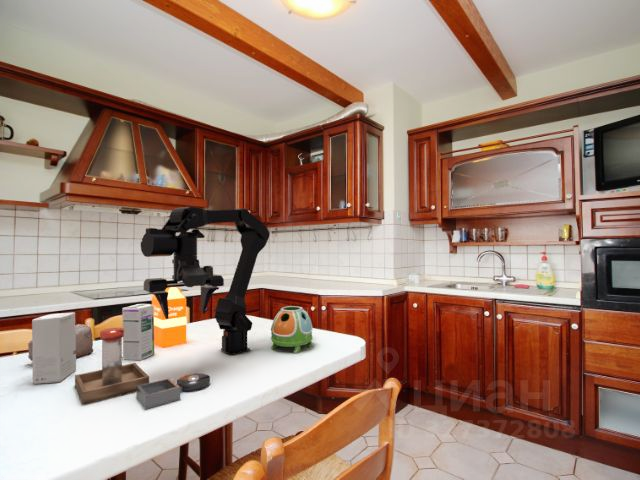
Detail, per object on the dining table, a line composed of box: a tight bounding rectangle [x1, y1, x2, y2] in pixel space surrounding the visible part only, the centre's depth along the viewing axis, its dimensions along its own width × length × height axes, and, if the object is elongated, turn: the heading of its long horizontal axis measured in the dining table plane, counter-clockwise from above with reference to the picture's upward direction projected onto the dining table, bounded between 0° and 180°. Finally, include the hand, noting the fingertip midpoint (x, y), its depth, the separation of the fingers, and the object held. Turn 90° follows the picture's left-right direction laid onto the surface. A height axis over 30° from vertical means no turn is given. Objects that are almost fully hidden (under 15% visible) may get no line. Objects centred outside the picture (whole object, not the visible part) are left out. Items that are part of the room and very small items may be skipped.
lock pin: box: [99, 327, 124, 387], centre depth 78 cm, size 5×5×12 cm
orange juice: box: [151, 287, 187, 349], centre depth 113 cm, size 8×9×20 cm
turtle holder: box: [270, 305, 314, 354], centre depth 110 cm, size 12×18×12 cm
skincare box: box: [31, 312, 77, 385], centre depth 84 cm, size 8×6×15 cm
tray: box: [74, 362, 150, 406], centre depth 78 cm, size 12×12×2 cm
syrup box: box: [121, 303, 155, 361], centre depth 99 cm, size 6×6×14 cm
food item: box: [27, 323, 94, 362], centre depth 98 cm, size 14×8×10 cm, turn 159°
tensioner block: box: [135, 372, 211, 410], centre depth 75 cm, size 15×9×2 cm, turn 131°
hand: (185, 316), depth 91 cm, fingers open, 9 cm apart
